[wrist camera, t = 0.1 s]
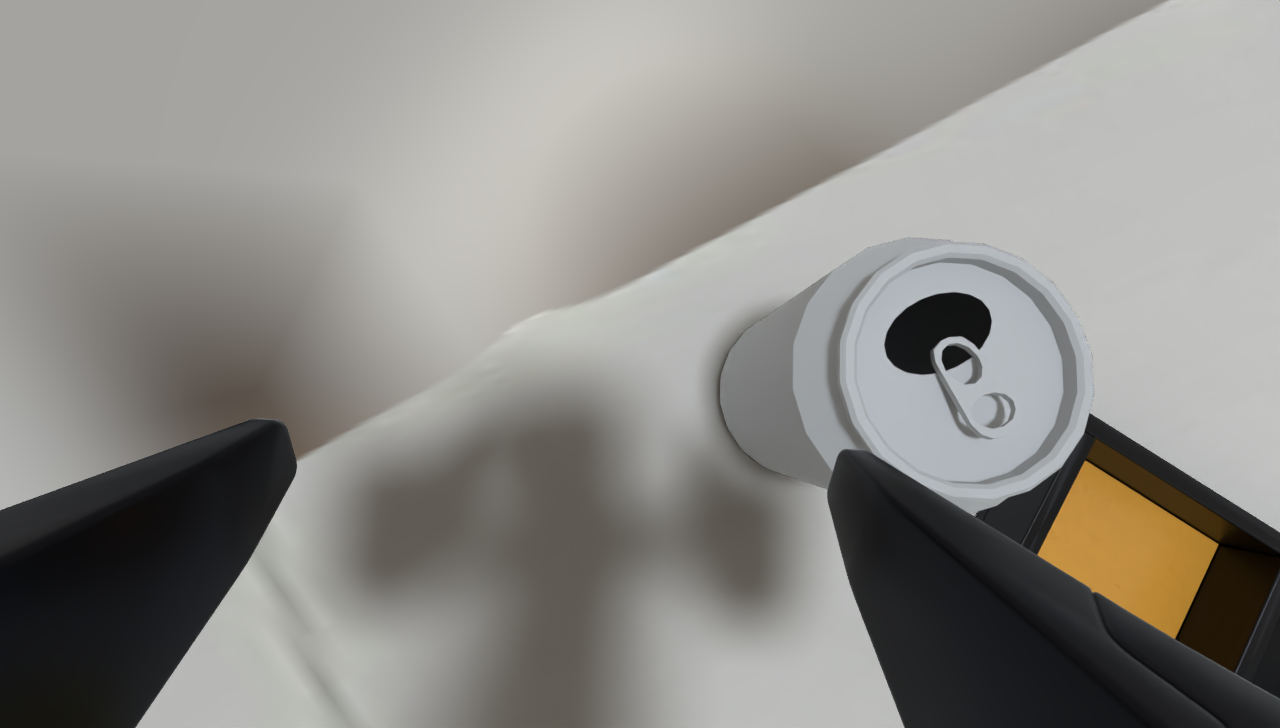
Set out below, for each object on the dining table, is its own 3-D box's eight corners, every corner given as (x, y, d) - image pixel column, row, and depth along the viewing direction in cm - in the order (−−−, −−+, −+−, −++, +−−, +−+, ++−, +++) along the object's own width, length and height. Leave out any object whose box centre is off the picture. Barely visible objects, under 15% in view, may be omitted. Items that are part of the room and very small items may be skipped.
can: (831, 289, 24) (1036, 164, 13) (902, 434, 24) (1188, 448, 12) (688, 352, 24) (762, 285, 12) (758, 503, 23) (909, 591, 11)
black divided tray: (1030, 412, 24) (1089, 411, 21) (1406, 649, 24) (1519, 681, 21) (925, 613, 23) (971, 641, 20) (1319, 865, 23) (1425, 932, 20)
